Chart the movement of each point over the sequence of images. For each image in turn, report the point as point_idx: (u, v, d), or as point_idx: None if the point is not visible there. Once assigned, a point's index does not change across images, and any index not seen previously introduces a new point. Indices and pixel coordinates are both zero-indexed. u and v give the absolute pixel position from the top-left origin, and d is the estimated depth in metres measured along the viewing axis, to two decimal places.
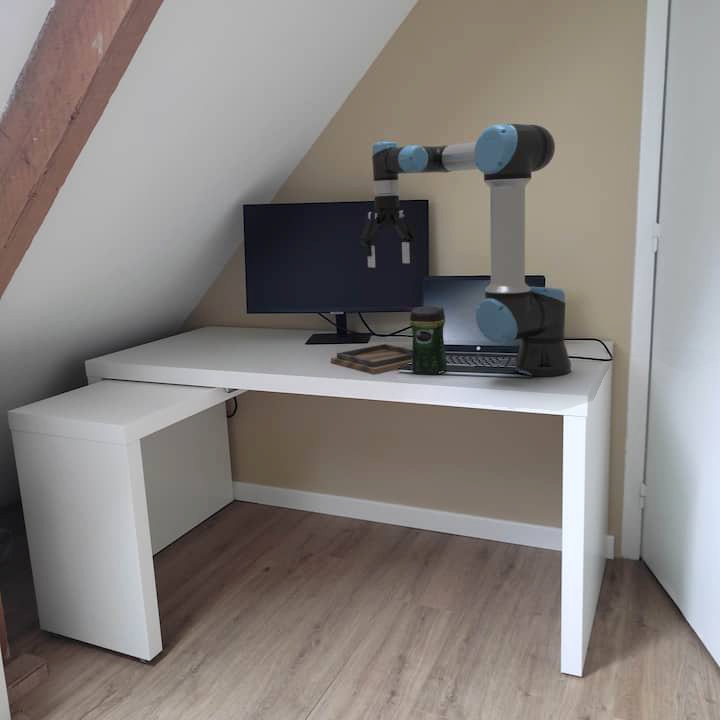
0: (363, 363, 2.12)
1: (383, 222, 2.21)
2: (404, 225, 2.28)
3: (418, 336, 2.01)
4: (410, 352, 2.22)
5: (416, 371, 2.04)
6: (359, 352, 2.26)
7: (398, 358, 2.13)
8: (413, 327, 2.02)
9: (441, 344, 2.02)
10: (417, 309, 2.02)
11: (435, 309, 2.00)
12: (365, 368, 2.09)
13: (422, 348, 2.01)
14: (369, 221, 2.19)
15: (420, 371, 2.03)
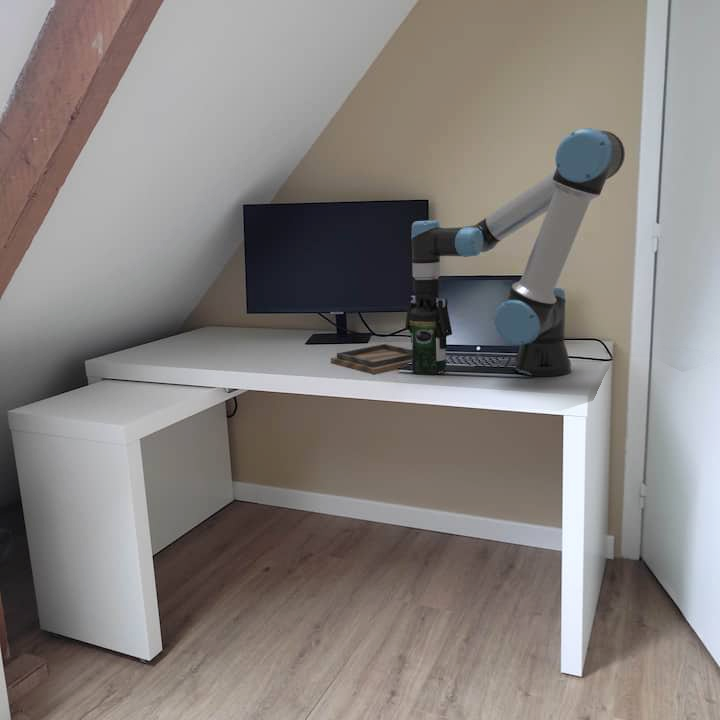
0: (363, 363, 2.12)
1: (416, 307, 2.03)
2: None
3: (418, 336, 2.01)
4: (410, 352, 2.22)
5: (416, 371, 2.04)
6: (359, 352, 2.26)
7: (398, 358, 2.13)
8: (413, 327, 2.02)
9: None
10: (417, 309, 2.02)
11: (435, 309, 2.00)
12: (365, 368, 2.09)
13: (422, 348, 2.01)
14: None
15: (420, 371, 2.03)
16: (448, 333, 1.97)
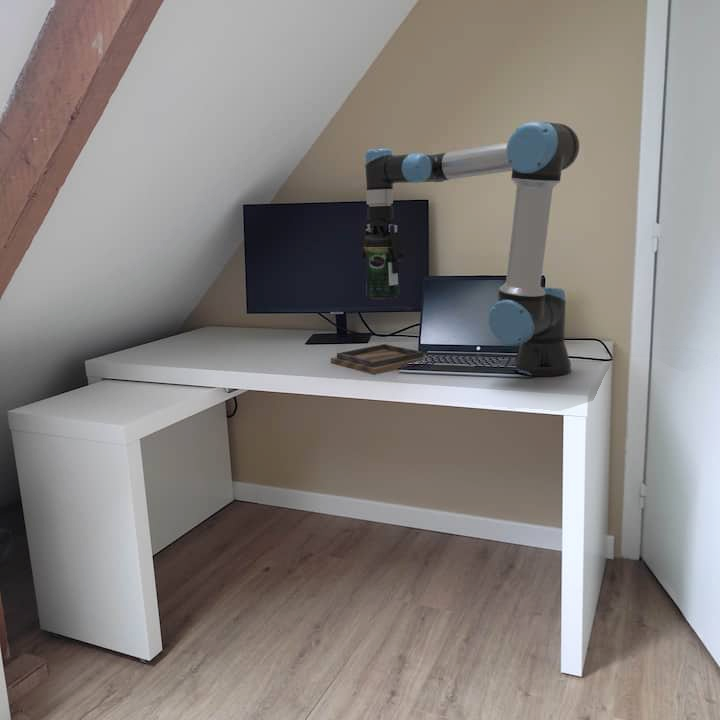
0: (363, 363, 2.12)
1: None
2: None
3: (372, 261, 2.09)
4: (410, 352, 2.22)
5: (370, 296, 2.12)
6: (359, 352, 2.26)
7: (398, 358, 2.13)
8: (367, 253, 2.10)
9: None
10: (371, 236, 2.10)
11: (388, 235, 2.08)
12: (365, 368, 2.09)
13: (375, 273, 2.10)
14: None
15: (373, 296, 2.12)
16: (399, 257, 2.05)
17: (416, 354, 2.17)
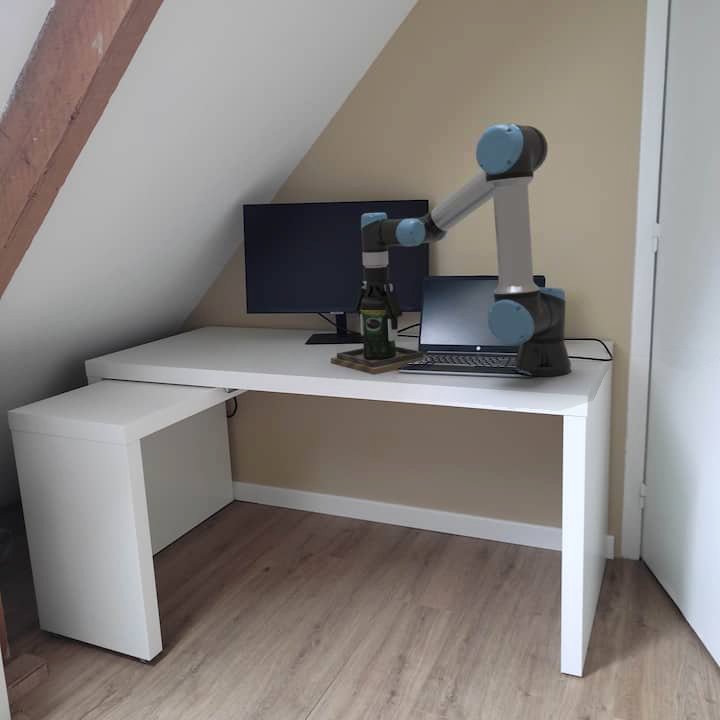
0: (363, 363, 2.12)
1: (366, 293, 2.18)
2: None
3: (368, 323, 2.15)
4: (410, 352, 2.22)
5: (367, 356, 2.18)
6: (359, 352, 2.26)
7: (398, 358, 2.13)
8: (363, 315, 2.16)
9: None
10: (367, 298, 2.16)
11: None
12: (365, 368, 2.09)
13: (372, 335, 2.16)
14: None
15: (370, 356, 2.18)
16: (398, 314, 2.10)
17: (416, 354, 2.17)
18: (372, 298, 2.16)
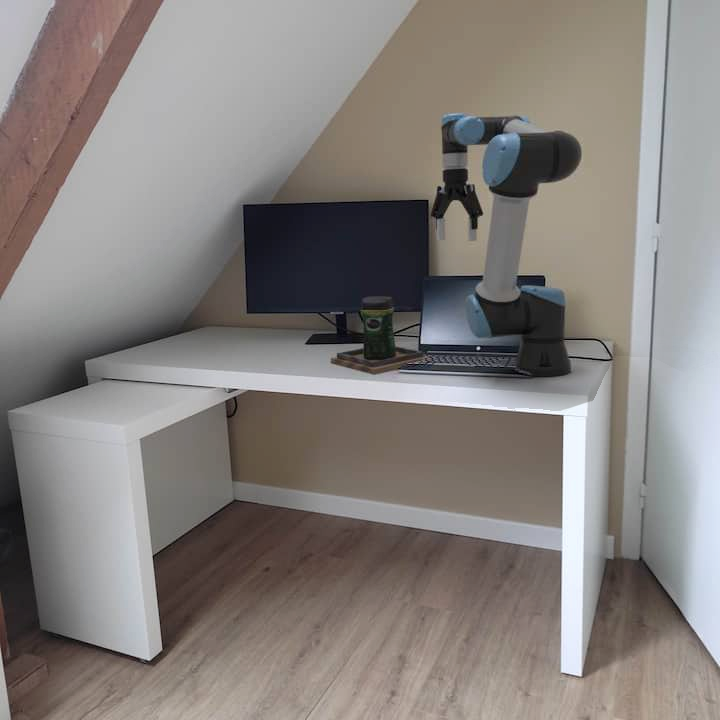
0: (363, 363, 2.12)
1: (445, 196, 2.21)
2: None
3: (368, 323, 2.16)
4: (410, 352, 2.22)
5: (367, 356, 2.18)
6: (359, 352, 2.26)
7: (398, 358, 2.13)
8: (363, 315, 2.16)
9: (390, 331, 2.17)
10: (367, 298, 2.16)
11: (383, 298, 2.14)
12: (365, 368, 2.09)
13: (372, 335, 2.16)
14: None
15: (370, 356, 2.18)
16: (479, 213, 2.13)
17: (416, 354, 2.17)
18: (372, 298, 2.16)
